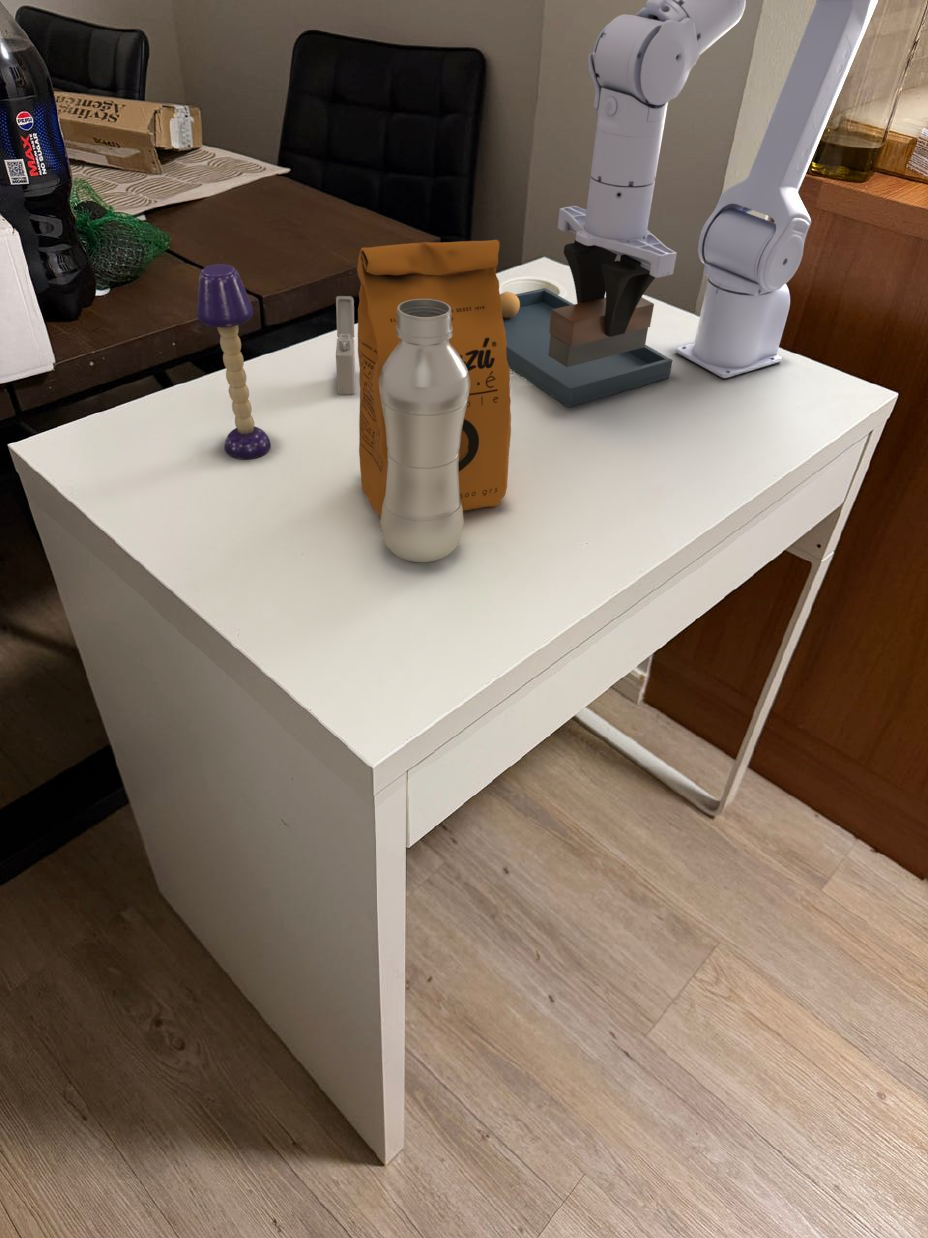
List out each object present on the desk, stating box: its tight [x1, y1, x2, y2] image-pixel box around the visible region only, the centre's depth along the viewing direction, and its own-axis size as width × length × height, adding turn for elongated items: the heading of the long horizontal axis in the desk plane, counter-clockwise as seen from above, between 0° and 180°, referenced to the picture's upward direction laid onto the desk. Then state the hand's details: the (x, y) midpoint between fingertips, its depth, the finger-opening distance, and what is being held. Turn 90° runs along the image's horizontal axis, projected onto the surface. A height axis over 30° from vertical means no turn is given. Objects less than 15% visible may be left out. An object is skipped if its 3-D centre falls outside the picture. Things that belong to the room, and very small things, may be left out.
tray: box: [502, 287, 674, 408], centre depth 105 cm, size 14×23×2 cm, turn 33°
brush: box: [548, 296, 655, 367], centre depth 90 cm, size 10×4×5 cm, turn 122°
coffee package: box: [356, 239, 512, 518], centre depth 74 cm, size 10×12×22 cm
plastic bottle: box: [379, 299, 470, 563], centre depth 69 cm, size 6×7×20 cm
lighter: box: [335, 295, 356, 395], centre depth 95 cm, size 7×2×8 cm, turn 4°
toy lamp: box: [196, 263, 272, 460], centre depth 81 cm, size 5×5×17 cm
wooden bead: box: [500, 291, 520, 318], centre depth 109 cm, size 3×3×3 cm
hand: (601, 326), depth 90 cm, fingers closed on brush, 3 cm apart
